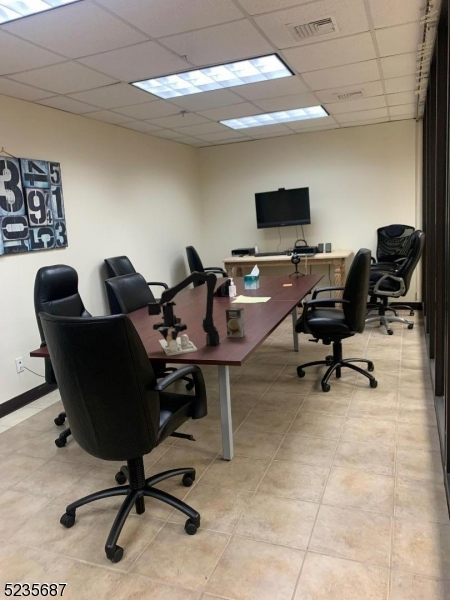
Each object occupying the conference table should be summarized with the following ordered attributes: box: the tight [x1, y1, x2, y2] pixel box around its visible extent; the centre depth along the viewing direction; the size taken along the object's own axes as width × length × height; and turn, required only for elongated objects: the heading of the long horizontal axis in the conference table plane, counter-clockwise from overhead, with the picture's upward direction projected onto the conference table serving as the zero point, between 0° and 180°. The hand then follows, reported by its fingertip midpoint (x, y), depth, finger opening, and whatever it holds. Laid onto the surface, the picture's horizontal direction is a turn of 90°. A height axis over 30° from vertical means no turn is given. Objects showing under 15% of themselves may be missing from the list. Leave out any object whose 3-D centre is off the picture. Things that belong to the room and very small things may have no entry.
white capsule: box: [169, 340, 178, 353], centre depth 233 cm, size 4×4×7 cm
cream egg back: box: [180, 334, 190, 347], centre depth 242 cm, size 4×4×7 cm
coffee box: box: [225, 307, 246, 338], centre depth 256 cm, size 9×6×16 cm
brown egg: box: [167, 333, 173, 347], centre depth 239 cm, size 4×4×7 cm
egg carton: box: [158, 336, 198, 357], centre depth 245 cm, size 32×16×2 cm, turn 16°
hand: (171, 342), depth 240 cm, fingers closed on brown egg, 4 cm apart
